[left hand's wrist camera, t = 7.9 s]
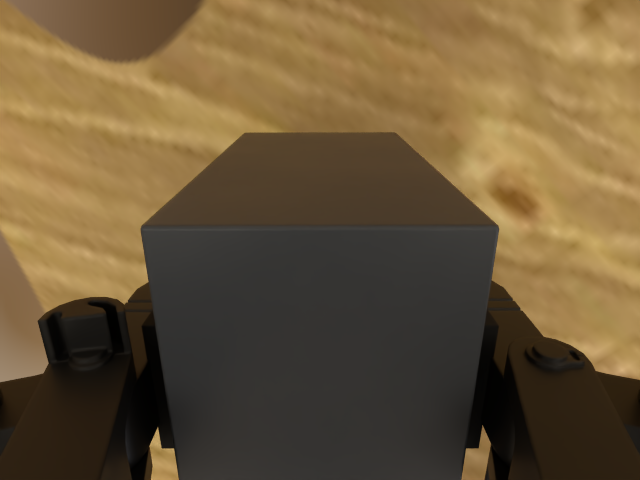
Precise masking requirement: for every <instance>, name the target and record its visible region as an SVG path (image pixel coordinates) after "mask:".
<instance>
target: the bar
mask: <svg viewBox="0 0 640 480" xmlns="http://www.w3.org/2000/svg"><path fill="white" fill-rule="evenodd" d="M498 233H499V227H498V225H497V224H496V223H495V222H494V221H492V220H491V219H490V218H489V217H488V216H487V215H486V214H485V213H484V212H482V211H481V210H480V209H479V208H478V207H477V206H476V205H475V204H474V203H473V202H471V201H470V200H469V199H468V198H467V197H466V196H465V195H464V194H463V193H461V192H460V191H459V190H458V189H457V188H456V187H455V186H454V185H453V184H452V183H450V182H449V181H448V180H447V179H446V178H445V177H444V176H443V175H442V174H440V173H439V172H438V171H437V170H436V169H435V168H434V167H433V166H432V165H431V164H429V163H428V162H427V161H426V160H425V159H424V158H423V157H422V156H421V155H419V154H418V153H417V152H416V151H415V150H414V149H413V148H412V147H411V146H410V145H408V144H407V143H406V142H405V141H404V140H403V139H402V138H401V137H400V136H398V135H397V134H396V133H244V134H243V135H242V136H241V137H240V138H238V139H237V140H236V141H235V142H234V143H233V144H232V145H231V146H230V147H229V148H227V149H226V150H225V151H224V152H223V153H222V154H221V155H220V156H219V157H217V158H216V159H215V160H214V161H213V162H212V163H211V164H210V165H209V166H207V167H206V168H205V169H204V170H203V171H202V172H201V173H200V174H199V175H197V176H196V177H195V178H194V179H193V180H192V181H191V182H190V183H189V184H187V185H186V186H185V187H184V188H183V189H182V190H181V191H180V192H179V193H178V194H176V195H175V196H174V197H173V198H172V199H171V200H170V201H169V202H168V203H166V204H165V205H164V206H163V207H162V208H161V209H160V210H159V211H158V212H156V213H155V214H154V215H153V216H152V217H151V218H150V219H149V220H148V221H146V222H145V223H144V224H143V225H142V226H141V235H142V242H143V248H144V255H145V261H146V268H147V274H148V281H149V287H150V294H151V300H152V307H153V313H154V320H155V326H156V333H157V339H158V346H159V352H160V359H161V365H162V372H163V378H164V385H165V391H166V398H167V404H168V411H169V417H170V424H171V430H172V437H173V443H174V450H175V456H176V463H177V470H178V476H179V480H461V478H462V471H463V464H464V458H465V451H466V445H467V438H468V431H469V425H470V418H471V411H472V405H473V398H474V392H475V385H476V378H477V372H478V365H479V359H480V352H481V345H482V339H483V332H484V325H485V319H486V312H487V306H488V299H489V292H490V286H491V279H492V273H493V266H494V259H495V253H496V246H497V239H498Z"/></svg>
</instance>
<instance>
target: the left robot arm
mask: <svg viewBox="0 0 640 480" xmlns="http://www.w3.org/2000/svg"><path fill="white" fill-rule="evenodd" d="M38 324H39V328H40V332H41V335H42V339H43V343H44V347H45V351H46V355H47V358H48V362H49V364H48V366H47V368H46V370H45V372H44V374H40V375H36V376H31V377H26V378H21V379H15V380H10V381H5V382H0V480H151V473H152V459H151V453H150V447H149V445H150V443H151V441H152V439H153V436H154V434H155V432H156V430H157V427H158V429H159V435H160V441H161V447H162V448H174V443H173V437H172V430H171V424H170V417H169V411H168V404H167V398H166V391H165V385H164V378H163V372H162V365H161V359H160V352H159V346H158V339H157V333H156V326H155V320H154V313H153V307H152V300H151V294H150V287H149V282H148V283H146V284H145V285H143V286H141V287H140V288H138V289H137V290H136V291H135V292H134V294H133V295H132V296H131V297H130V299H129V300H128V303H126V304H125V305H124V304H123V303H121V302H120V301H119V300H117V299H113V298H108V297H90V298H84V299H79V300H74V301H71V302H68V303H65V304H62V305H59V306H58V307H56V308H54V309H52V310H50V311H48V312H47V313H45V314H44V315H43V316H42V317H41V318H40V319H39V320H38ZM482 424H483V427H484V429H485V431H486V433H487V436H488V438H489V440H490V442H491V447H490V453H489V458H488V464H487V469H486V475H485V480H640V380H636V379H631V378H626V377H620V376H615V375H610V374H605V373H601V372H597V371H595V369H594V367H593V365H592V363H591V362H590V361H589V359H588V358H587V357H586V356H585V355H584V354H583V353H582V352H580V351H579V350H577V349H576V348H574V347H573V346H571V345H568V344H566V343H563V342H561V341H558V340H556V339H551V338H546V337H543V335H542V334H541V333H540V332H539V330H538V329H537V328H536V327H535V326H534V324H533V323H532V322H531V321H530V319H529V318H528V317H527V316H526V315H525V313H524V312H523V311H520V307H519V306H518V305H517V304H516V302H515V301H513V299H512V297H511V296H510V295H509V294H508V293H507V291H506V290H505V289H504V288H503V287H502V286H500V285H498V284H497V283H495V282H493V281H492V280H491V286H490V292H489V299H488V306H487V312H486V319H485V325H484V332H483V339H482V345H481V352H480V359H479V365H478V372H477V378H476V385H475V392H474V398H473V405H472V411H471V418H470V425H469V431H468V438H467V445H466V448H479V442H480V436H481V430H482Z"/></svg>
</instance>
